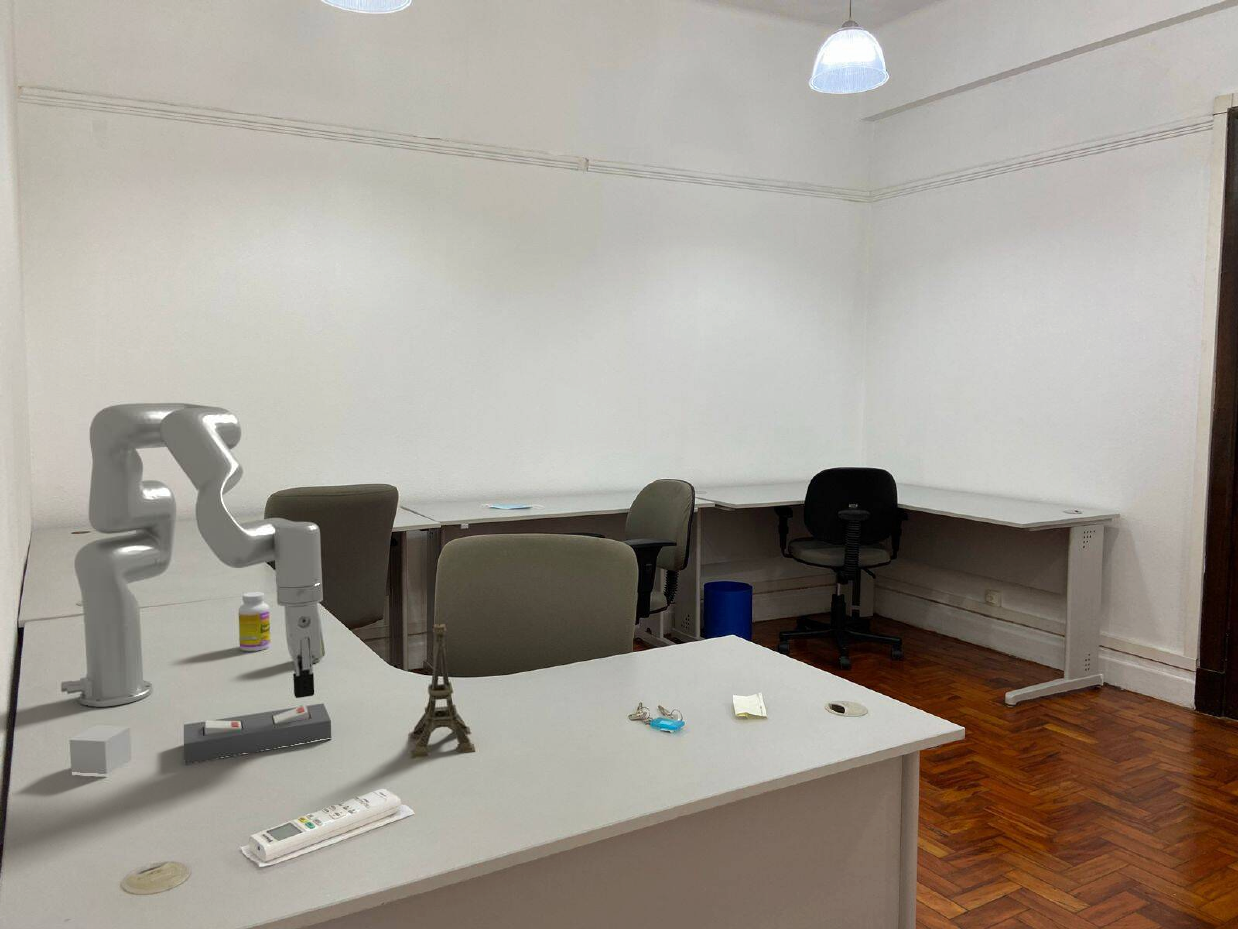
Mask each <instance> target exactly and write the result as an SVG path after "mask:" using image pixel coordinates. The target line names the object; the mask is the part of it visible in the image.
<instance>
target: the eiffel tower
mask: <svg viewBox="0 0 1238 929" xmlns="http://www.w3.org/2000/svg"><path fill="white" fill-rule="evenodd" d="M432 633H433V634H435V640H434V641H435V642H434V655H433V657H434V658H433V667H432V675H431V676H432V677H431V683H428V688H427V692H428V695H429V696H428V697H429V698H428V703H427V706H426V707H424V714H423V715H422V716H421V717H420V719H419V720H418V722H417V723H416V724H415V726H414V728H413V731H411V732H409V734H408V736H410V737H409V740H410V739H415V740H417V741H416V743H415V745H414V747H413V749H412V750H410V754H411V755H410V757H411V759H417V758H416V757H422V758H428V757H429V749H428V745H429V742H430V738H431V734H432V733H433V732H434V731H436V729H439V728H448V729H450V730H451V731H452V732H453V733H454V736H455V738H456V740H457V742H458V743H457V749H458V750H457V751H458V754H466V753H475V752H476V748H475V743H472V742H471V739H470V737H469V736H468V735H470V734H472V732H471V729H470V726H467V725H466V723H465V721H464V720H463V718H462V717H461V716H460V714H459V713H458V711H457V706H456V704H454V703H453V697H452V694H453V693H454V690H453V686H452V682H451V681H449V680H450V679H449V675H448V674H449V673H448V668H447V659H446V649H445V648H446V647H445V640H444V634H445V633H447V629H446V626H445V623H441V612H440V609H438V622H437V624H433V628H432ZM440 666H441V674H442V679H443V680H442V681H443V682H442V683H440V684H439V674H440ZM437 700H439V701H440V700H446V705H445V706H436V705H437V704H436V703H437ZM427 756H428V757H427Z"/></svg>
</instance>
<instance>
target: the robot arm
mask: <svg viewBox="0 0 1238 929" xmlns="http://www.w3.org/2000/svg"><path fill="white" fill-rule="evenodd" d="M241 436H242V428H241V424H240V422H239V421H238V419H237V417H236V415H234V414H233V413H232V412H231V411H229V410H228V409H226V408H224V407H219V406H218V407H217V406H210V405H209V406H208V405H201V404H194V403H184V402H159V403H158V402H155V403H154V402H153V403H150V402H149V403H148V402H147V403H144V402H142V403H140V402H139V403H137V402H136V403H123V404H116V405H115V404H114V405H110V406H108V407H104V408H102V409H101V410H99V411H98V412H97V413H96V414H95V416H94V417H93V419H92V421H91V424H90V428H89V443H90V444H89V446H90V451H91V457H92V463H91V464H92V466H91V468H92V469H91V475H90V476H91V477H90V487H89V489H90V490H89V500H88V501H89V502H88V521H89V524H90V526H91V528H92V529H94V531H96V532H98V533H100V534H108V535H110V534H121V533H127V532H133V531H135V533H129V534H123V535H116V536H111V537H105V538H101V539H97V540H93V541H91V542H89V543H87V544H85V545H83V546H82V547H81V548H80V549H79V550H78V552H76V555H75V557H74V570H75V575H76V578H77V581H78V582H77V583H78V585H79V589H80V593H81V599H82V600H81V601H82V611H83V623H84V637H85V638H84V639H85V656H86V658H85V659H86V675H85V677H80V679H79V680H68V681H61V683H60V689H61V693H65V692H66V694H75V693H80V694H79V696H78V700H79V703H80V704H82V705H83V706H86V705H88V706H87V707H92V706H93V707H94V708H96V707H97V708H102V707H103V708H106V707H114V706H119V705H126V704H130V703H132V702H136V701H139V700H142V699H144V698H146V697H148V696H149V695H150V694H151V693H152V692H153V684H152V683H151V682H149V681H147V680H144V670H143V668H144V667H143V651H142V646H143V645H142V630H141V626H142V625H141V614H140V612H141V611H140V606H139V602H138V599H137V598H136V597H135V595H134V594H133V593H132V592H131V590H130V589H129V587H128V584H132V583H134V582H139V581H143V580H148V579H152V578H155V577H157V576H160V575H162V574H164V572H166V571H167V569H168V568H169V566H170V564H171V560H172V557H173V556H172V555H173V548H174V547H173V546H174V539H175V528H176V521H177V520H176V519H177V502H176V499H175V495H174V494H173V492H172V490H171V488H170V487H169V486H168V485H167V484H165V483H164V482H161V481H159V480H153V479H152V480H150V479H149V480H143V475H144V474H143V472H144V465H143V460H142V458H141V456H140V454H139V452H138V450H139V449H142V450H143V449H155V448H167V450H168V452H169V453H170V454H171V455H172V457H173V458H174V460H175V461H176V462H177V464H178V465H179V467H180V468H181V470H182V471H183V472H184V474H185V476H186V477H187V478H188V480H189V481H190V482H191V484H192V485H193V487H194V488H195V489H196V491H197V497H196V503H195V517H196V518H195V519H196V525H197V528H198V530H199V533H200V535H201V537H202V539H203V540H204V542H205V543H206V545H207V546H208V547H209V549H210V550H211V551H212V552H213V554H214V555H215V556H216V557H217V559H218V560H219V561H220V562H222V563H223V564H225V565H226V566H227V567H230V568H233V569H243V568H248V567H251V566H256V565H261V564H265V563H269V562H273V561H274V564H275V565H274V566H275V584H276V604H277V605H278V606H280V607H284V621H285V622H284V623H285V624H284V625H285V636H286V637H285V638H286V645H287V650H288V653H289V656H290V659H291V661H292V662H293V672H294V673H292V676H293V678H292V680H293V695H294V697H295V698H296V699H300V698H306V697H307V698H308V697H312V696H314V695H315V678H314V677H315V676H314V672H313V670H314V669H313V663H312V653H313V654H314V656H315V658H318V660H319V661H320V660H322V658H323V657H322V649H321V636H320V622H319V614H320V612H319V606H318V604H319V603H321V602H323V599H324V598H323V597H324V595H323V594H324V593H323V577H322V576H323V575H322V570H323V569H322V555H321V554H322V551H321V549H322V548H321V547H322V545H321V531H320V527H319V526H318V525H317V524H316V523H315V522H311V521H293V520H289V519H286V518H281V517H271V518H265V519H264V518H263V519H261V520H260V519H259V520H258V519H257V520H252V521H246V522H241V523H237V522H236V520H235V519H234V518H233V516H232V515H231V513H230V512H229V511H228V509H227V507H226V505H225V502H224V499H223V496H224V495H226V493H228V492H229V491H231V490H232V489H233V488H234V487H235V486H236V485H238V483H239V482H240V480H241V478H242V477H243V473H244V468H243V466H242V465H241V463H240V462H239V461H238V459H237V458H236V457H235V455H234V454H233V452H232V451H231V450H232V449H234V448H235V447H237V446H238V444H239V443H240V440H241V438H242V437H241ZM93 707H92V708H93Z"/></svg>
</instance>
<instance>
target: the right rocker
mask: <svg viewBox="0 0 1238 929" xmlns="http://www.w3.org/2000/svg"><path fill="white" fill-rule="evenodd" d="M300 706H301V707H300ZM300 706H298V708H296V707H295V708H296V709H293V710H290V711H287V712H284V713H281V714H278V715H276V716H273V718H274V722H275V724H279V723H286V722H292V721H298V720H304V719H309V718H310V717H309V713H308V710H307V707H306V706H307V705H306V704H305V705H300Z"/></svg>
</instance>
